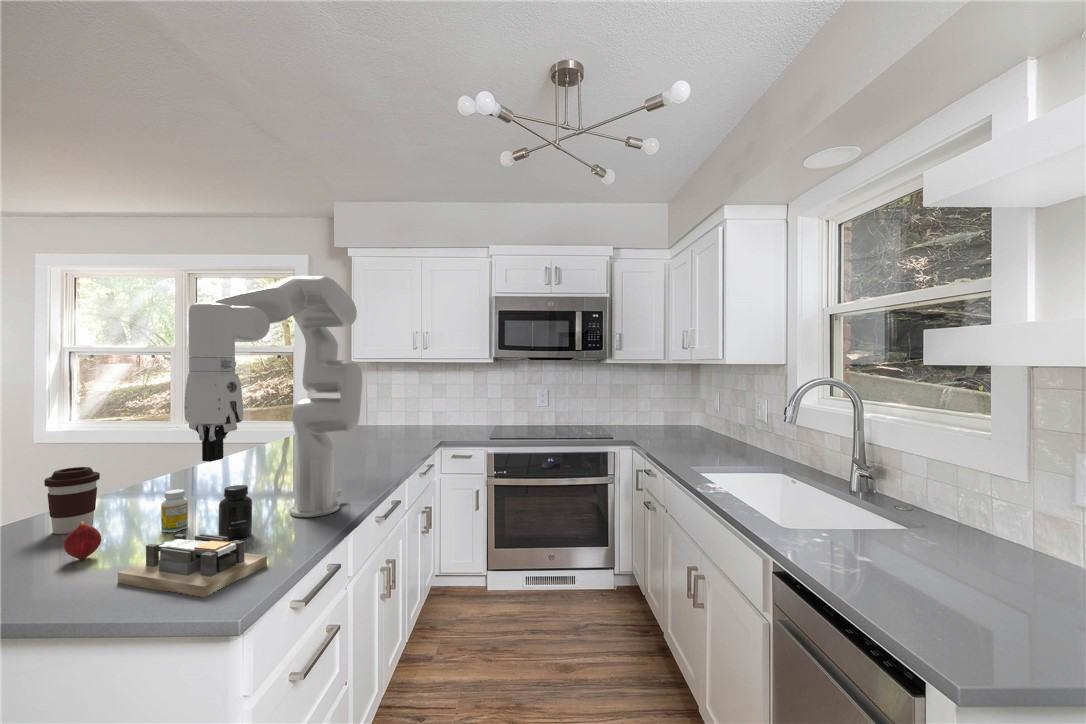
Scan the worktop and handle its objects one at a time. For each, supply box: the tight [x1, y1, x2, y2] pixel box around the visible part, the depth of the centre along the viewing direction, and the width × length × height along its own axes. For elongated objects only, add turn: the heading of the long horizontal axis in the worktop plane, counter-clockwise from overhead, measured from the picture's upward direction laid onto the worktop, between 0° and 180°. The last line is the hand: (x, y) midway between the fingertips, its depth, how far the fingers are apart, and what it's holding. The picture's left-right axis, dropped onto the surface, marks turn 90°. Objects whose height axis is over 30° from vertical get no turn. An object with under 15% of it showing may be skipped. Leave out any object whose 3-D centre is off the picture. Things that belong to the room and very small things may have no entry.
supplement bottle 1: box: [160, 488, 189, 533], centre depth 122 cm, size 5×5×10 cm
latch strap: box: [158, 538, 236, 557], centre depth 98 cm, size 4×16×1 cm, turn 75°
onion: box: [63, 522, 102, 561], centre depth 104 cm, size 6×6×8 cm
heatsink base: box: [117, 533, 268, 598], centre depth 98 cm, size 14×21×6 cm, turn 75°
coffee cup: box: [43, 466, 101, 535], centre depth 122 cm, size 10×10×15 cm
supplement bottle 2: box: [218, 484, 253, 541], centre depth 117 cm, size 7×7×12 cm
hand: (212, 459), depth 96 cm, fingers closed
